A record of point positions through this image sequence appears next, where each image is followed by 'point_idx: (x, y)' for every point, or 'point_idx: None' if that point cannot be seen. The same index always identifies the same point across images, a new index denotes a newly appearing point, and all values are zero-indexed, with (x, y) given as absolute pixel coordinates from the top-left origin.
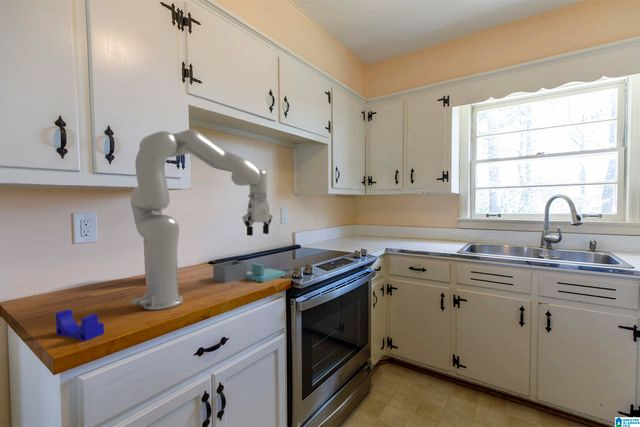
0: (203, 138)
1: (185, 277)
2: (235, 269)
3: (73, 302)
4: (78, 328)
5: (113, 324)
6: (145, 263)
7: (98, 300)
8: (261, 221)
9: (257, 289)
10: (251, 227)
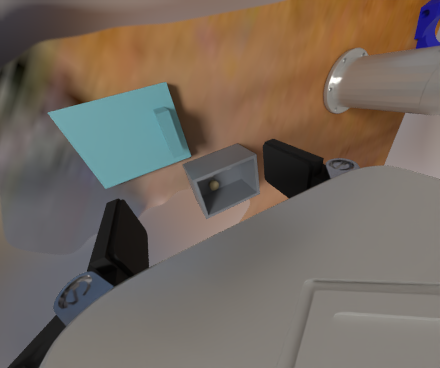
0: None
1: None
2: (222, 161)
3: (364, 159)
4: (427, 36)
5: (401, 38)
6: None
7: (355, 153)
8: (265, 211)
9: (205, 23)
10: (317, 158)
